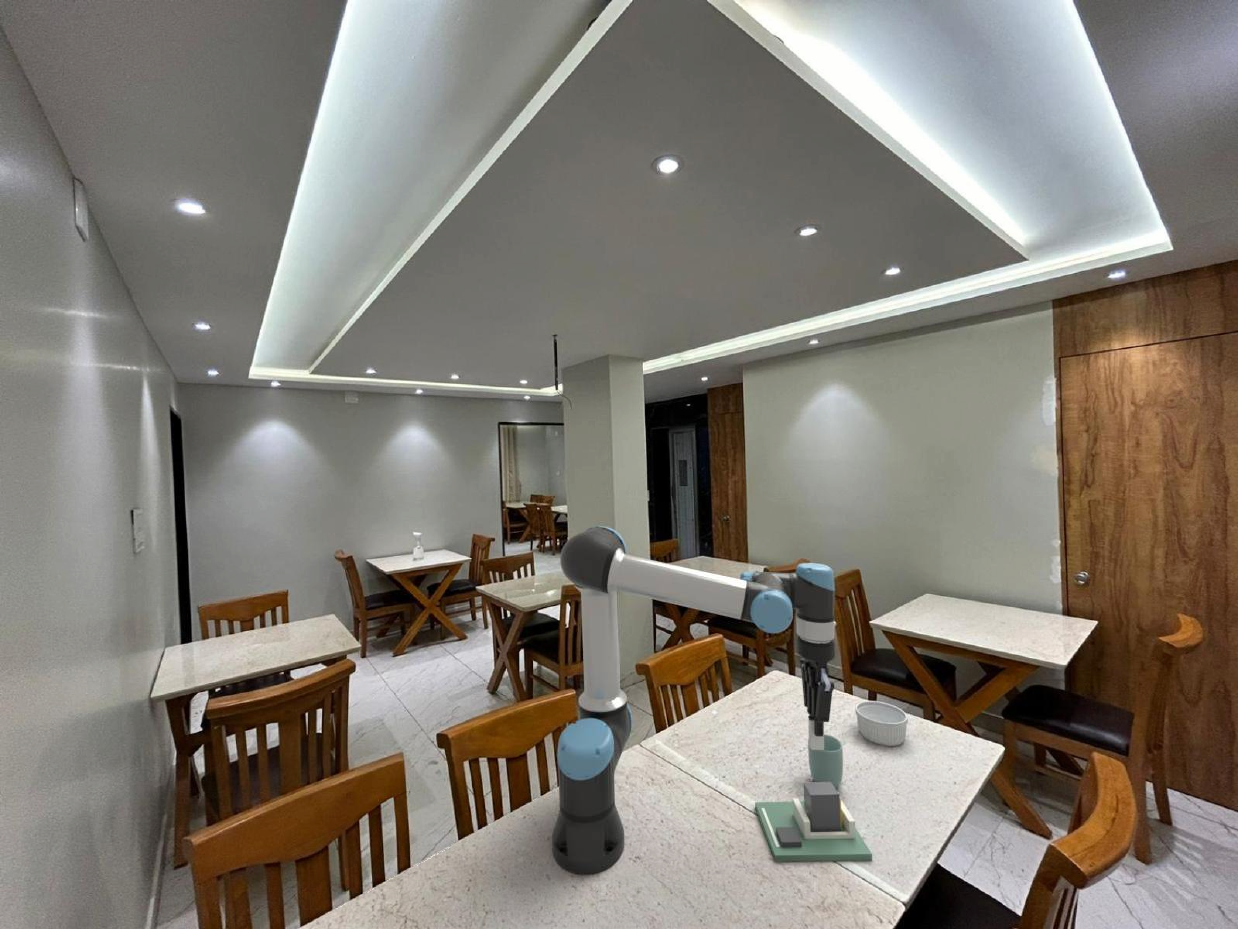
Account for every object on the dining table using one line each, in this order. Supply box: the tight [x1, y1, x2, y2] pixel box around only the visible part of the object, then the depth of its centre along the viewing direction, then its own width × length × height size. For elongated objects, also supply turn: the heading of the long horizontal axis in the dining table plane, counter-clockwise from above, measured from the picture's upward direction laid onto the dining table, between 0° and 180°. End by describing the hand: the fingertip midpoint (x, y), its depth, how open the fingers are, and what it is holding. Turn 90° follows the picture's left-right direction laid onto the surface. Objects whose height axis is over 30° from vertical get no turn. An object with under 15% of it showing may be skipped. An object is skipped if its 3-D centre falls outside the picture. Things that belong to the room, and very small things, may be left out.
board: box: [754, 797, 873, 863], centre depth 102 cm, size 19×15×5 cm
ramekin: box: [855, 700, 909, 747], centre depth 137 cm, size 13×13×7 cm
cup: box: [807, 733, 844, 789], centre depth 117 cm, size 8×8×10 cm
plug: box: [803, 781, 842, 832], centre depth 102 cm, size 7×4×8 cm, turn 90°
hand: (816, 747), depth 102 cm, fingers closed
